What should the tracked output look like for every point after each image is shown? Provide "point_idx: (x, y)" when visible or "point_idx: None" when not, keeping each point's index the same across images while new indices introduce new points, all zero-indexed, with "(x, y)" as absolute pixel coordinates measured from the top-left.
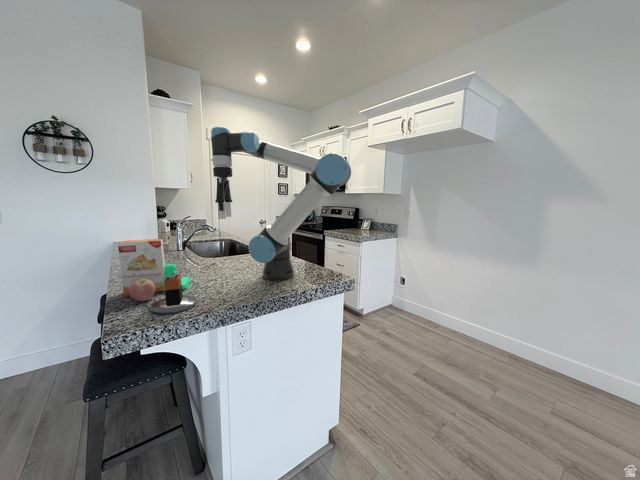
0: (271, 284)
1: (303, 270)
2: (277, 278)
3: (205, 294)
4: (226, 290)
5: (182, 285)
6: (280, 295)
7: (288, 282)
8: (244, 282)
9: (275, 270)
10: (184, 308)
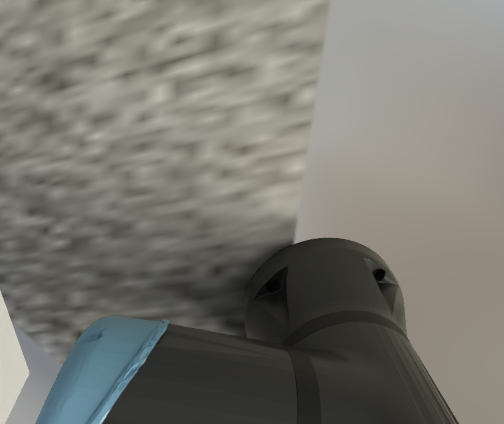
0: (184, 291)
1: None
2: (243, 315)
3: (22, 6)
4: (93, 105)
5: None
6: (43, 338)
7: None
8: (223, 167)
9: (254, 331)
10: None
